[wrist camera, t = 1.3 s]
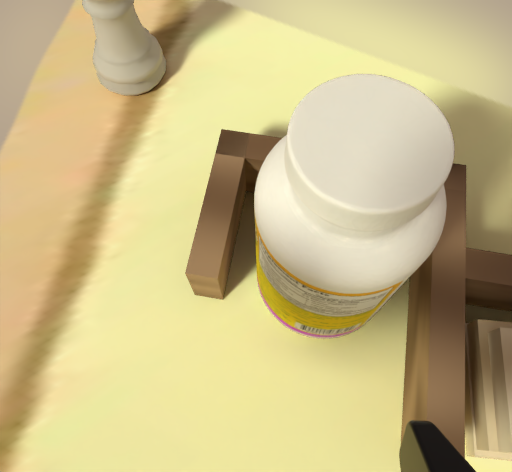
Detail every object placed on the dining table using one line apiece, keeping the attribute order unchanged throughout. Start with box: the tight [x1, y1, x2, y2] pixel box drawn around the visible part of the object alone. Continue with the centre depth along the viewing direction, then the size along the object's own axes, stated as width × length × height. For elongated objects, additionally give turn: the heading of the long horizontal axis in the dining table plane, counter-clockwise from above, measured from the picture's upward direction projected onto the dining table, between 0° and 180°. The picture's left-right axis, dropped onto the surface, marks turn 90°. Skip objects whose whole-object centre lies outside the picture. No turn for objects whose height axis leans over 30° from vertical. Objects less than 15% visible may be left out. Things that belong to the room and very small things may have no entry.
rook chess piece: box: [82, 0, 166, 96], centre depth 27 cm, size 4×4×8 cm
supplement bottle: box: [254, 74, 454, 339], centre depth 19 cm, size 7×7×13 cm
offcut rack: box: [185, 129, 512, 459], centre depth 22 cm, size 14×24×4 cm, turn 80°
